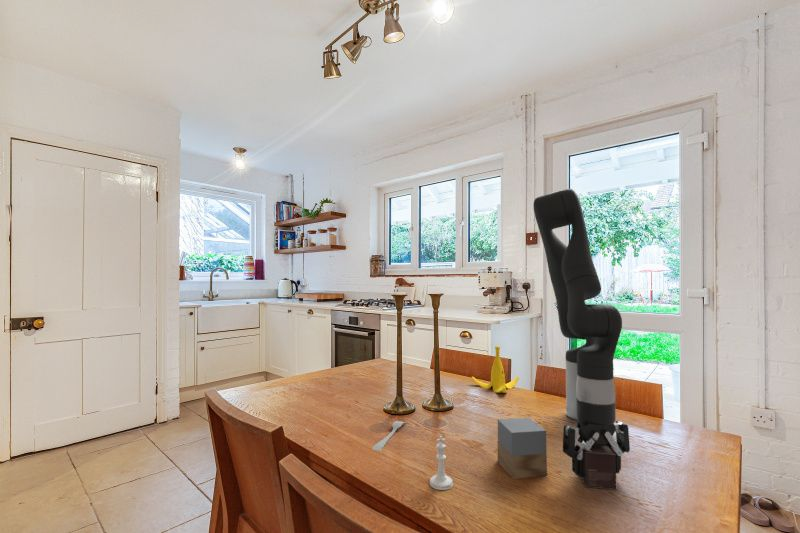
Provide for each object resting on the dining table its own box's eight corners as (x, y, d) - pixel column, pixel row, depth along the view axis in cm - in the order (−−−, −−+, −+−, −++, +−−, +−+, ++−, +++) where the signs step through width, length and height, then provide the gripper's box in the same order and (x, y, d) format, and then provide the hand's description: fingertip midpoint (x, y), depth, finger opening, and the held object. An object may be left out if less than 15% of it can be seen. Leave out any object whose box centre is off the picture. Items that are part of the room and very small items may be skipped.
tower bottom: (529, 459, 94) (528, 438, 94) (546, 476, 86) (546, 453, 86) (497, 462, 92) (497, 440, 93) (512, 479, 85) (512, 456, 85)
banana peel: (519, 385, 157) (519, 343, 157) (505, 398, 141) (505, 351, 141) (480, 379, 166) (480, 340, 166) (463, 391, 150) (462, 347, 150)
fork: (370, 460, 99) (369, 449, 99) (401, 422, 118) (400, 413, 118) (380, 462, 98) (379, 451, 98) (409, 423, 117) (409, 414, 117)
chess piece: (427, 478, 85) (427, 432, 85) (450, 477, 85) (449, 431, 86) (431, 490, 80) (431, 441, 80) (455, 489, 80) (454, 440, 81)
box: (617, 490, 80) (616, 454, 80) (585, 487, 81) (584, 452, 81) (607, 475, 86) (606, 442, 86) (578, 473, 87) (577, 440, 87)
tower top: (529, 438, 94) (529, 417, 94) (546, 453, 86) (546, 430, 86) (497, 440, 93) (497, 419, 93) (512, 455, 85) (511, 432, 85)
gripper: (612, 390, 89) (613, 462, 88) (555, 394, 86) (556, 468, 86) (637, 400, 81) (639, 479, 81) (575, 405, 79) (577, 486, 78)
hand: (596, 473), depth 83 cm, fingers open, 8 cm apart
